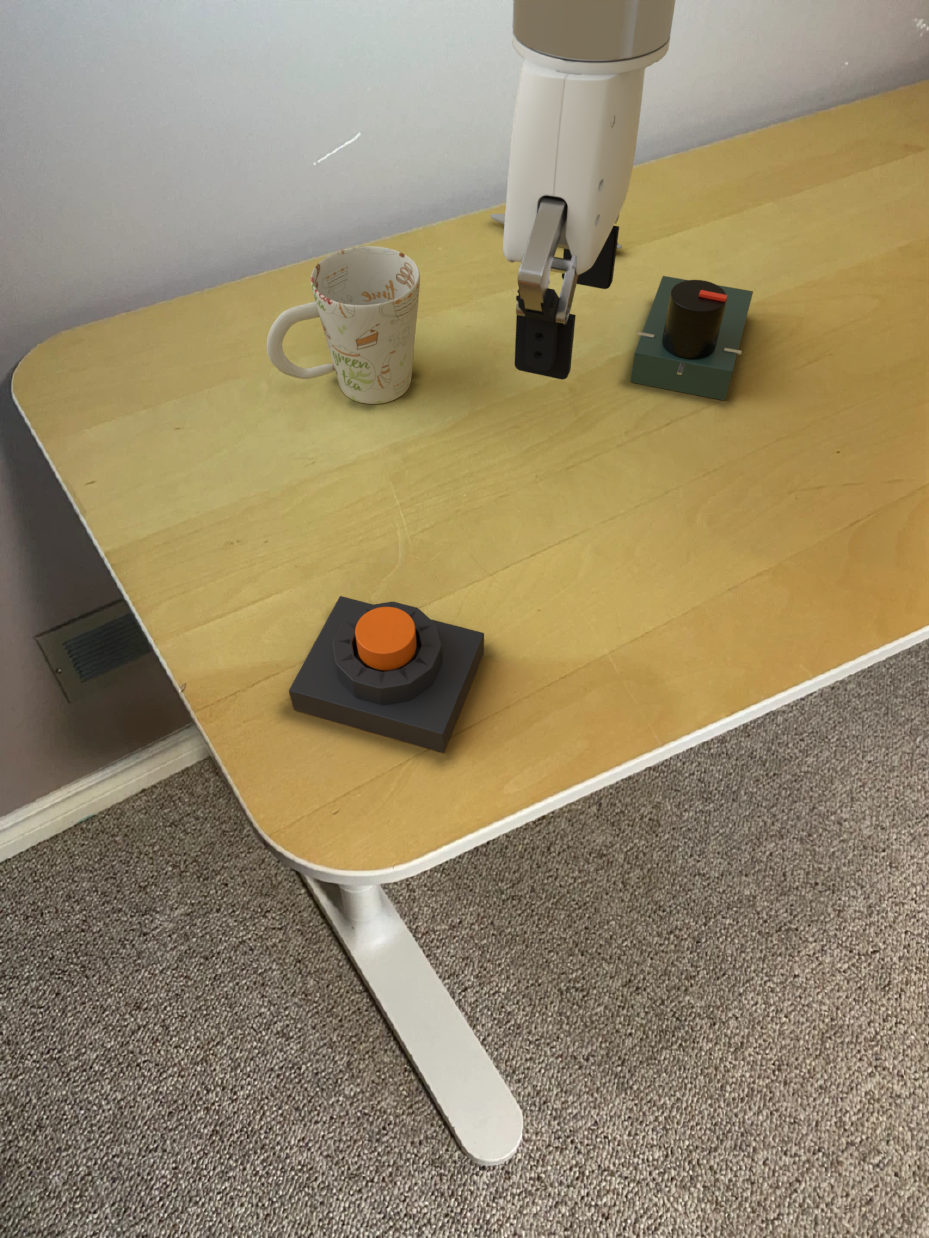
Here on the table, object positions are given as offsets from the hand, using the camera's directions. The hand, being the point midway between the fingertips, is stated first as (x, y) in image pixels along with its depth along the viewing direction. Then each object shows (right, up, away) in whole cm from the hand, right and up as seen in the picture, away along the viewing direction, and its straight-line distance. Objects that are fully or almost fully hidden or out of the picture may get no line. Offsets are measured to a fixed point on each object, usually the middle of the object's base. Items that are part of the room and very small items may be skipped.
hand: (565, 325), depth 58 cm
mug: (-16, +1, +22) cm, 27 cm away
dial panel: (+13, +6, +25) cm, 29 cm away
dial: (+12, +5, +21) cm, 25 cm away
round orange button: (-11, -20, 0) cm, 22 cm away
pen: (+3, +20, +37) cm, 42 cm away
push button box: (-11, -22, +3) cm, 25 cm away
